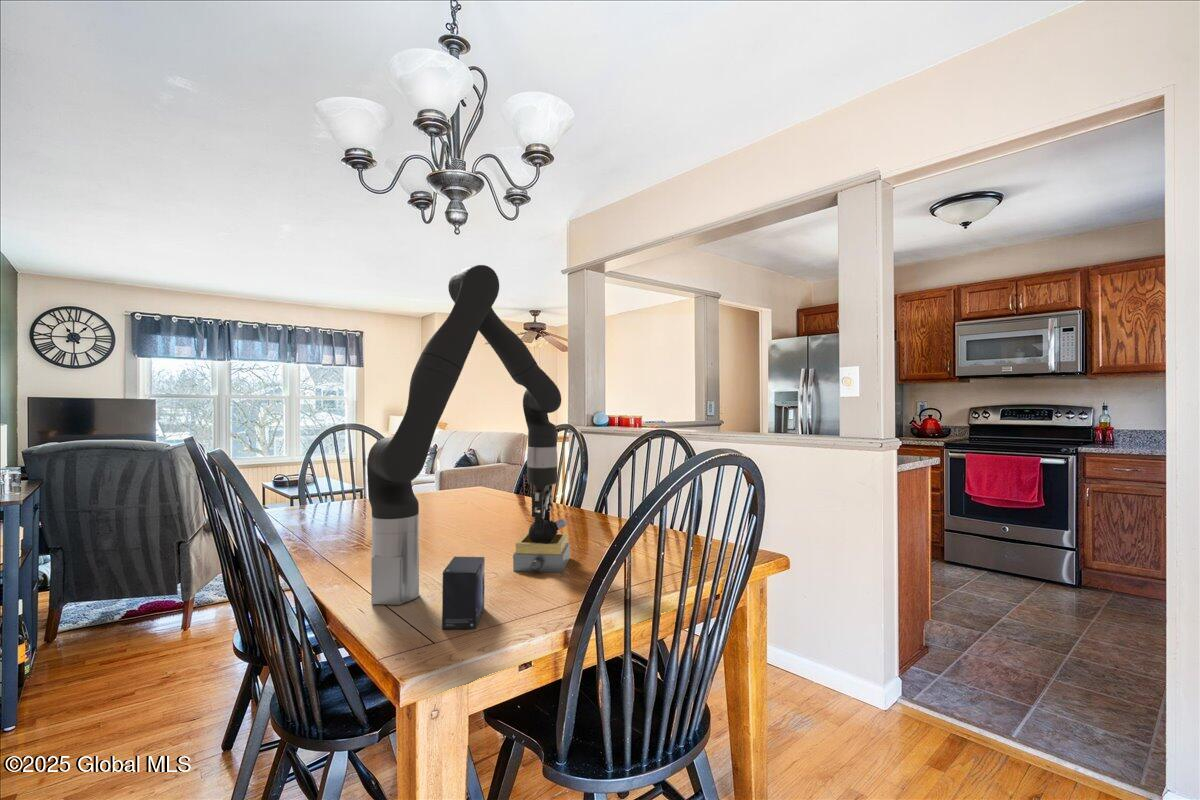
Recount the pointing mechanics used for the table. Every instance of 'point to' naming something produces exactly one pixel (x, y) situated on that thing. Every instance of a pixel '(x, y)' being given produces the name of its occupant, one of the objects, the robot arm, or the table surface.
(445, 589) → the small box
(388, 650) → the table surface
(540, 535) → the light bulb
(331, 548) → the table surface
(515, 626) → the table surface
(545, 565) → the tan and grey block
